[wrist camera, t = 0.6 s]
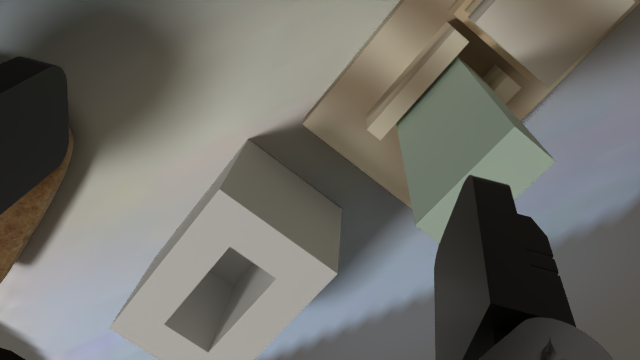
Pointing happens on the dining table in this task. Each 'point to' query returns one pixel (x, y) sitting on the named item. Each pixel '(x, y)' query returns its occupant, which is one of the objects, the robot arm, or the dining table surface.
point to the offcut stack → (540, 30)
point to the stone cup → (28, 214)
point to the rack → (411, 85)
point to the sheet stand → (236, 265)
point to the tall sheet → (462, 145)
